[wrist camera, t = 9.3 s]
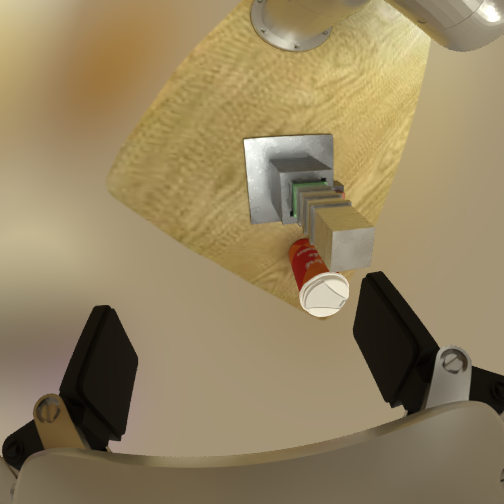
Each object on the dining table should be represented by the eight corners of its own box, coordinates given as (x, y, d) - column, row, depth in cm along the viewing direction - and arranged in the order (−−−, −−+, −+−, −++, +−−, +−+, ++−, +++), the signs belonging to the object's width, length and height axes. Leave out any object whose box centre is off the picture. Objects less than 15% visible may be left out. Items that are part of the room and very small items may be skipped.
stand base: (243, 138, 41) (250, 149, 31) (330, 134, 41) (361, 144, 32) (250, 222, 48) (259, 254, 38) (330, 213, 48) (355, 242, 39)
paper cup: (330, 241, 51) (361, 285, 39) (310, 274, 54) (333, 323, 42) (294, 226, 49) (318, 270, 37) (275, 262, 52) (291, 312, 40)
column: (284, 175, 38) (330, 229, 22) (315, 173, 38) (377, 224, 23) (286, 204, 40) (328, 275, 24) (315, 202, 40) (371, 268, 25)
